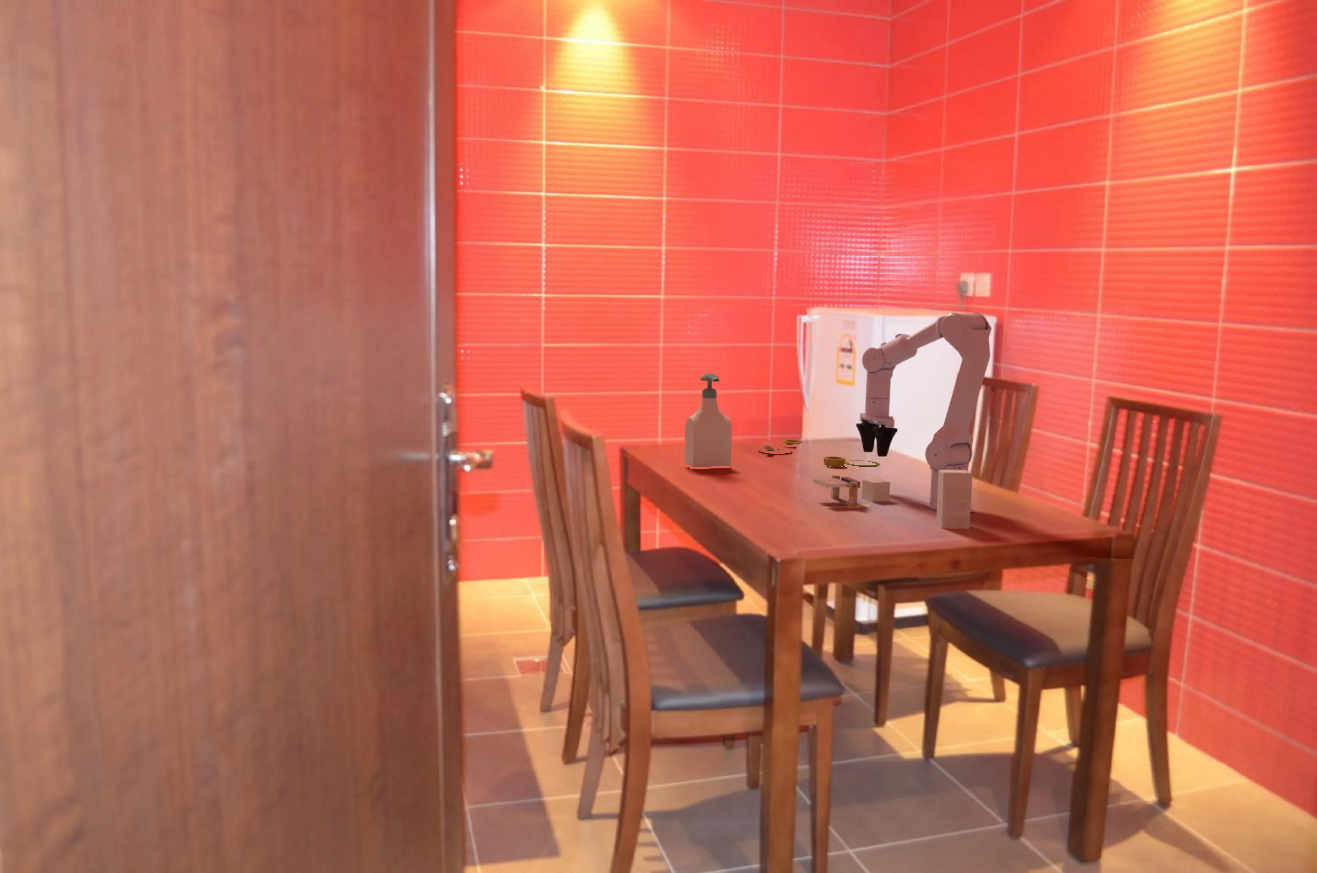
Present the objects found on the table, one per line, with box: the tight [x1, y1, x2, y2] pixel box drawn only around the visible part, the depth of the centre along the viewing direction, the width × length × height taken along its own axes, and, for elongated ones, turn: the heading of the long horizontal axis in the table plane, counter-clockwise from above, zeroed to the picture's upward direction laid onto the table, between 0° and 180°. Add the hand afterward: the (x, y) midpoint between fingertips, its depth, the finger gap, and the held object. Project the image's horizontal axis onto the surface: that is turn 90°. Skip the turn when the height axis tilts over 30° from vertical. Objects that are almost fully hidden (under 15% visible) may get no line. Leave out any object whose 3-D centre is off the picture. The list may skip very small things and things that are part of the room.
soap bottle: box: [683, 372, 733, 467], centre depth 283 cm, size 11×8×27 cm
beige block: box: [861, 478, 891, 503], centre depth 246 cm, size 5×5×6 cm
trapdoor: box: [812, 476, 861, 489], centre depth 241 cm, size 8×8×1 cm
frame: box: [824, 474, 873, 510], centre depth 242 cm, size 11×11×6 cm
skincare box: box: [936, 469, 973, 530], centre depth 220 cm, size 6×4×12 cm
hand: (875, 454), depth 255 cm, fingers open, 7 cm apart
